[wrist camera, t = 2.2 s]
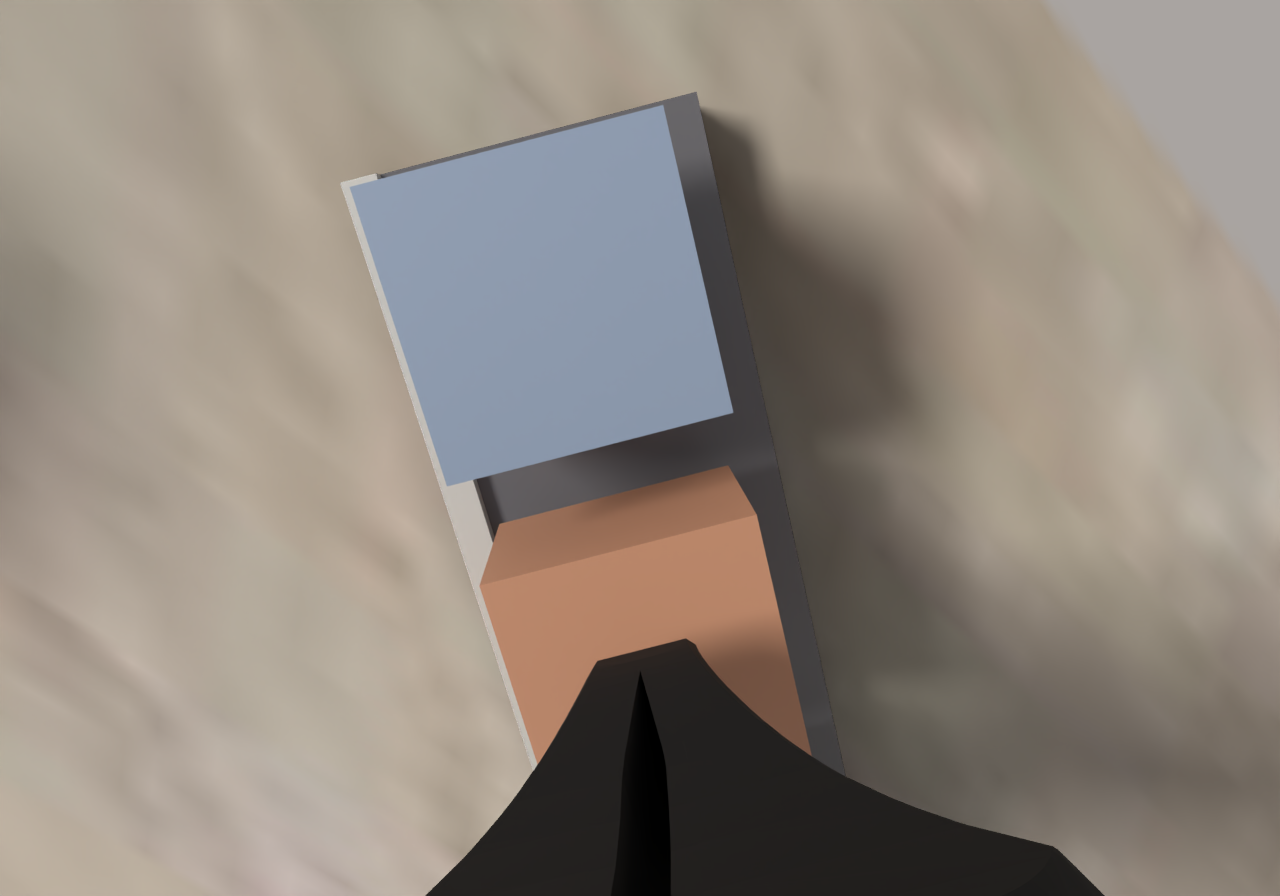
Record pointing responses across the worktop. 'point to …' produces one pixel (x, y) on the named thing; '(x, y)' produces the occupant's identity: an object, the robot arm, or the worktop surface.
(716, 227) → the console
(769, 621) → the terracotta key
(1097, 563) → the worktop surface
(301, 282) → the worktop surface
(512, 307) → the light blue square block
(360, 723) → the worktop surface
